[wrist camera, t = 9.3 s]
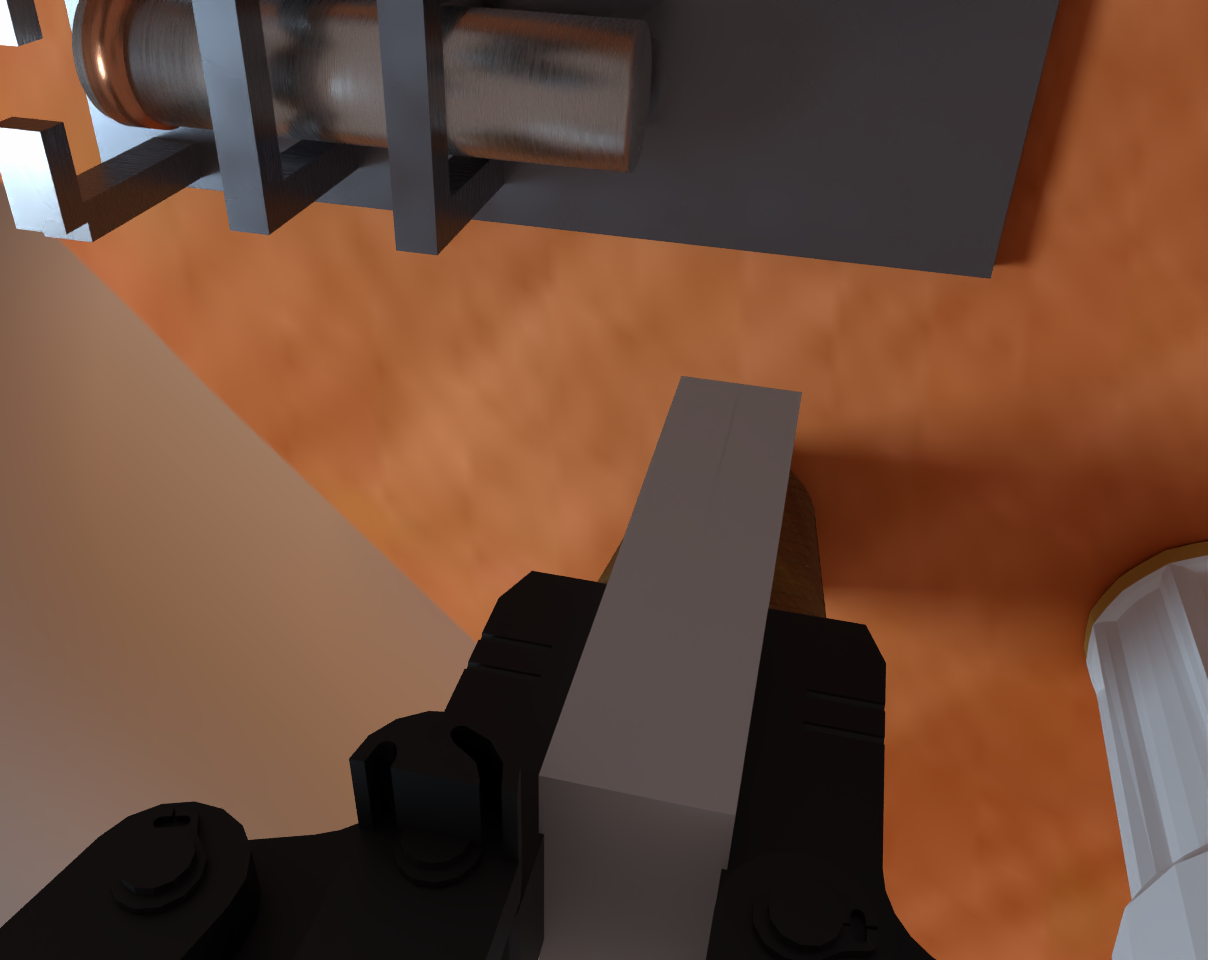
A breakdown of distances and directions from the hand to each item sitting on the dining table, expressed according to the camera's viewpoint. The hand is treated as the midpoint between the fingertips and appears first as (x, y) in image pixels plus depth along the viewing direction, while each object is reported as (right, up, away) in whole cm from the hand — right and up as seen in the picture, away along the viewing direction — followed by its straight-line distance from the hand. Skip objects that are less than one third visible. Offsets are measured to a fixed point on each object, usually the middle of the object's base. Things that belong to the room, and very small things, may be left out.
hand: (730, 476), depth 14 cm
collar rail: (-4, +13, +19) cm, 24 cm away
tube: (-8, +13, +19) cm, 24 cm away
